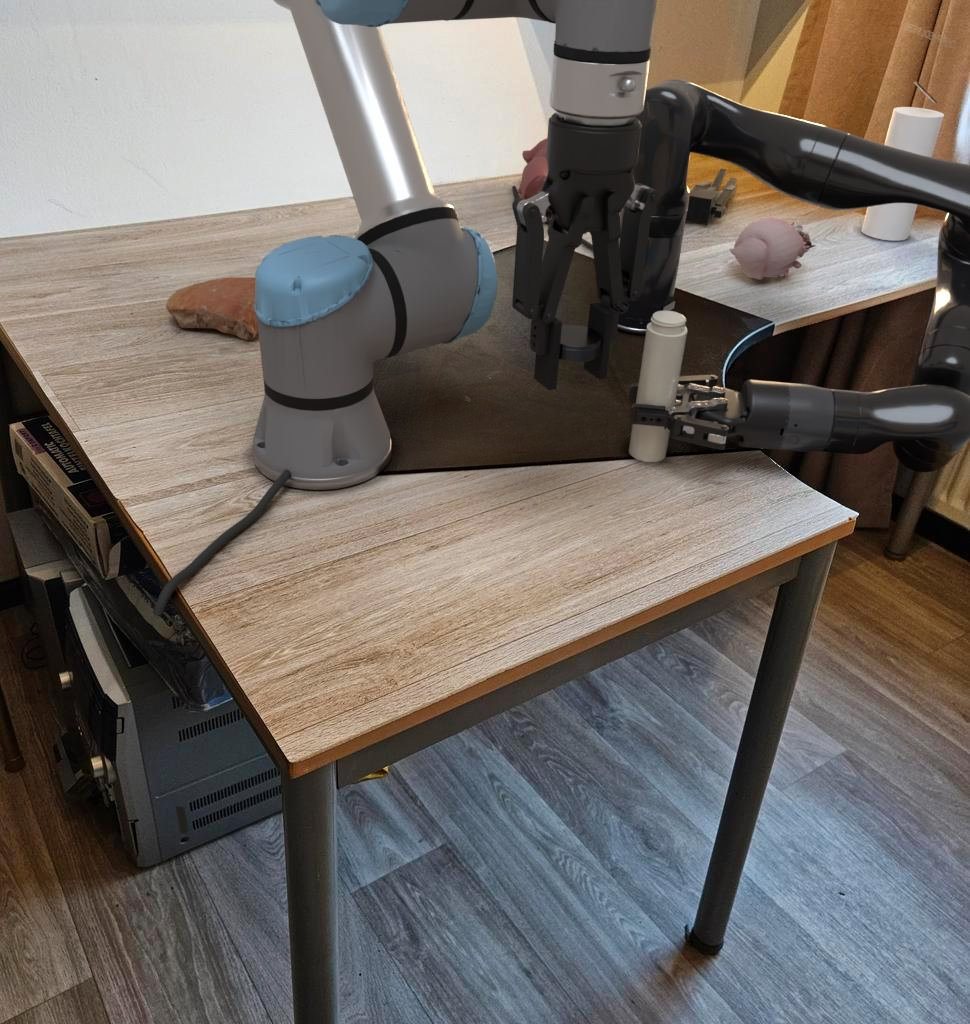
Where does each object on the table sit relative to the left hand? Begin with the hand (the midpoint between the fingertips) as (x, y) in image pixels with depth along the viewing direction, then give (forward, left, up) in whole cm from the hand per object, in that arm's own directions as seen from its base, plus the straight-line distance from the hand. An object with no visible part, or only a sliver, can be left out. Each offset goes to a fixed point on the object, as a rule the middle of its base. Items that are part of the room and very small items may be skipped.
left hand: (570, 377), depth 90 cm
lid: (0, 0, +4) cm, 4 cm away
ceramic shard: (+32, +58, -16) cm, 68 cm away
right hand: (+17, -4, -10) cm, 20 cm away
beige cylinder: (+18, -6, -16) cm, 25 cm away
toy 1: (+122, +1, -16) cm, 123 cm away
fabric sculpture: (+109, +26, -16) cm, 113 cm away
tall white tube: (+119, -32, -16) cm, 124 cm away
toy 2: (+85, -13, -16) cm, 87 cm away
